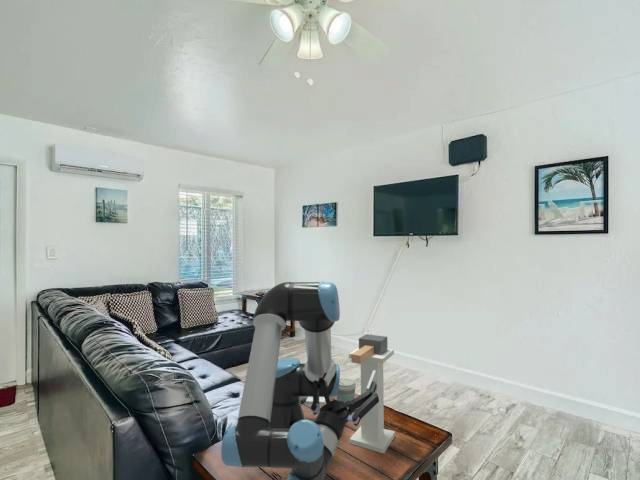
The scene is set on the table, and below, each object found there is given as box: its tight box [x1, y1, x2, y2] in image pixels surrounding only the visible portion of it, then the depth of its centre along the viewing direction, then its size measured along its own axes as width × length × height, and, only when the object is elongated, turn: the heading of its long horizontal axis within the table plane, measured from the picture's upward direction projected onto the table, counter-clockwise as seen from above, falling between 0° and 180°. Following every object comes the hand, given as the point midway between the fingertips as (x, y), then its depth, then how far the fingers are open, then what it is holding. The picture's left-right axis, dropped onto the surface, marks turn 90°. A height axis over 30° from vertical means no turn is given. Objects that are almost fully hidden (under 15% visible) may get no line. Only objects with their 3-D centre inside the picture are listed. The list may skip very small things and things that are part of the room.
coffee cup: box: [336, 378, 357, 415], centre depth 138 cm, size 8×8×12 cm
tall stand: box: [348, 347, 396, 455], centre depth 117 cm, size 12×12×30 cm
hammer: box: [350, 333, 389, 365], centre depth 114 cm, size 19×8×4 cm, turn 151°
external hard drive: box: [305, 397, 326, 405], centre depth 151 cm, size 2×8×12 cm
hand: (354, 369), depth 104 cm, fingers open, 13 cm apart
